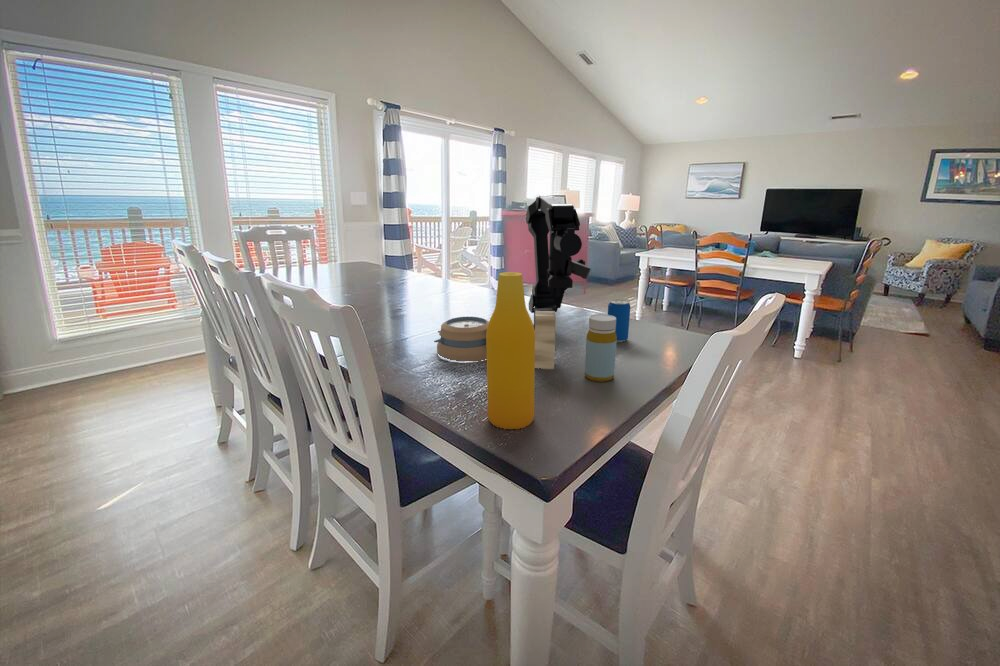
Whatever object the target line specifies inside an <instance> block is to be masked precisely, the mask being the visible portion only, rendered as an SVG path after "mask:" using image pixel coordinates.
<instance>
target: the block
mask: <svg viewBox="0 0 1000 666" xmlns="http://www.w3.org/2000/svg"><path fill="white" fill-rule="evenodd" d="M556 316H557V315H556V312H555V311H535V368H538V369H537V370H555V354H556V353H555V350H556V349H555V348H556V347H555V346H556V319H557V318H556ZM539 368H541V369H539Z"/></svg>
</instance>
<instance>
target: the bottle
mask: <svg viewBox="0 0 1000 666" xmlns="http://www.w3.org/2000/svg"><path fill="white" fill-rule="evenodd" d="M615 327H616V317H614V316H612V315H608V314H607V313H605V314H603V313H602V314H601V313H598V314H597V313H596V314H592V315H591V314H590V315H589V317H588V331H587V334H586V339H585V359H584V376H585V377H586V378H587V379H588V380H589V381H592V382H597V383H598V382H599V383H605V381H606V382H608V381H609V380H610V381H611V380H612V379H613V378H614V377H615V372H616V371H615V369H616V355H617V353H616V352H617V343H618V342H617V336H616V333H615V329H616V328H615Z"/></svg>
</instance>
